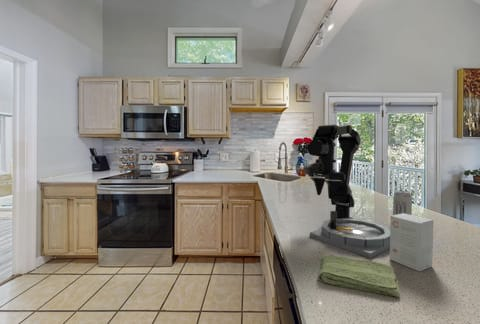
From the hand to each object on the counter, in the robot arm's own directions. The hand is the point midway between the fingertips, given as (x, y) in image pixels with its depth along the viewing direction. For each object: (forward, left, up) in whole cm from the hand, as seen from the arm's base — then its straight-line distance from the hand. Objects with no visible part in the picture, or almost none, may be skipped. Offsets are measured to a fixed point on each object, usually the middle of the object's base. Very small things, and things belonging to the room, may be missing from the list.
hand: (324, 196), depth 96 cm
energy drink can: (-24, +18, -13) cm, 33 cm away
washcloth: (+23, +26, -14) cm, 38 cm away
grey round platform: (-1, +12, -13) cm, 18 cm away
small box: (+4, +31, -13) cm, 34 cm away
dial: (-1, +12, -12) cm, 17 cm away
